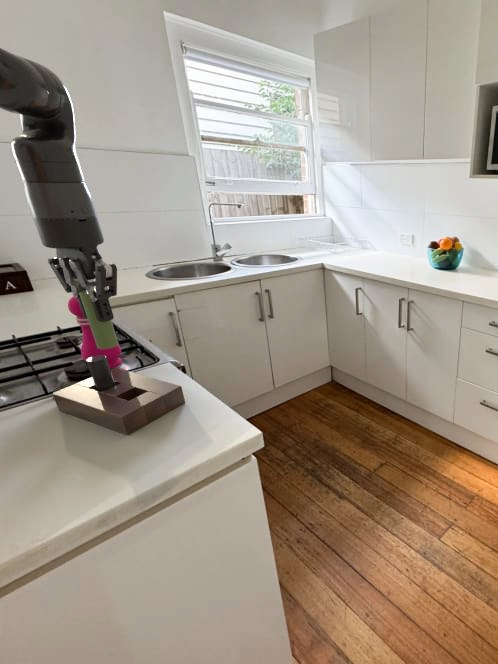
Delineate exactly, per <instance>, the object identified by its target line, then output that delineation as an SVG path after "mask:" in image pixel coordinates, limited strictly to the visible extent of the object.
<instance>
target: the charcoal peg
mask: <svg viewBox="0 0 498 664" xmlns="http://www.w3.org/2000/svg"><path fill="white" fill-rule="evenodd" d="M86 361H87V362H86ZM86 361H85V362H86V364H87V367H88V370H89V372H90V376H91V377H92V378H93V381H94V384H95V386H96V389H97V391H99V392H103V391H105V390H107V389H109V388H111V387H114V386H115V383H114V380H113V376H112V373H111V370H110V367H109V364H108V361H107V358H106V356H104V355H98V356H93V357H90V358H88V359H87V360H86Z"/></svg>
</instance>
